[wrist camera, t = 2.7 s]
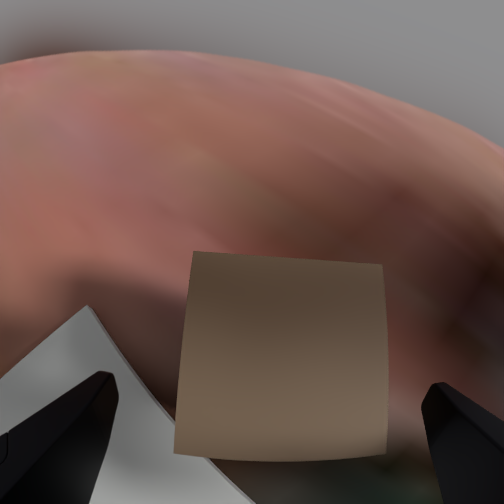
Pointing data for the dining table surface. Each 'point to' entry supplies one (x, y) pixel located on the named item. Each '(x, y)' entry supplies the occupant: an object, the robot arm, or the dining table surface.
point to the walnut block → (282, 360)
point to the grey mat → (125, 423)
